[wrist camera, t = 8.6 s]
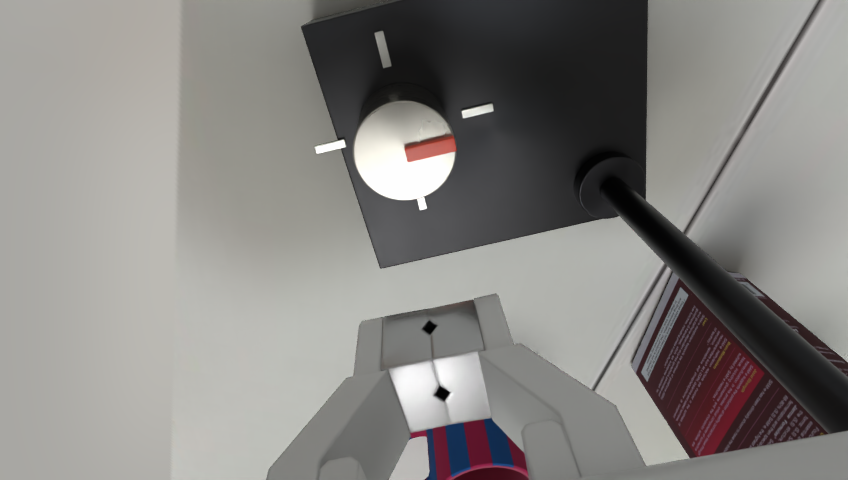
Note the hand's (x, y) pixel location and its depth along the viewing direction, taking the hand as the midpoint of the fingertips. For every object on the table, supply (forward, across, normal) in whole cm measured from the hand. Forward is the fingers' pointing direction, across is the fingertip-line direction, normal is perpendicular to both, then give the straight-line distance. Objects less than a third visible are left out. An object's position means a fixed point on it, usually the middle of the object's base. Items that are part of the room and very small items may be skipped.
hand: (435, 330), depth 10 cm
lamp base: (+16, -4, 0) cm, 16 cm away
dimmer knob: (+13, 0, -1) cm, 13 cm away
